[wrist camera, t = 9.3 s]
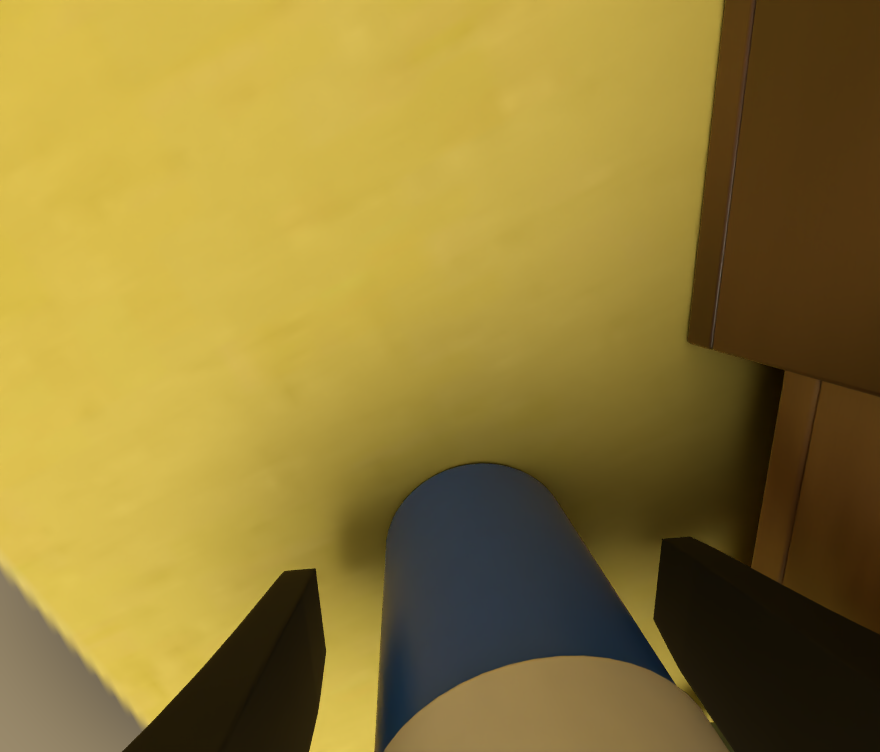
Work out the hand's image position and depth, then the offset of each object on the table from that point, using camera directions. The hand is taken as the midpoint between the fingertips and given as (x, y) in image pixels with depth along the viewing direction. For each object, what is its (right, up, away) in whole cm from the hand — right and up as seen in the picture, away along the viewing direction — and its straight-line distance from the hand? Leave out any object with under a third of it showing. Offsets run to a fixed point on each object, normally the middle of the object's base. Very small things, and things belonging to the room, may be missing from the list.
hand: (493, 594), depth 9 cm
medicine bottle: (0, 0, +2) cm, 2 cm away
